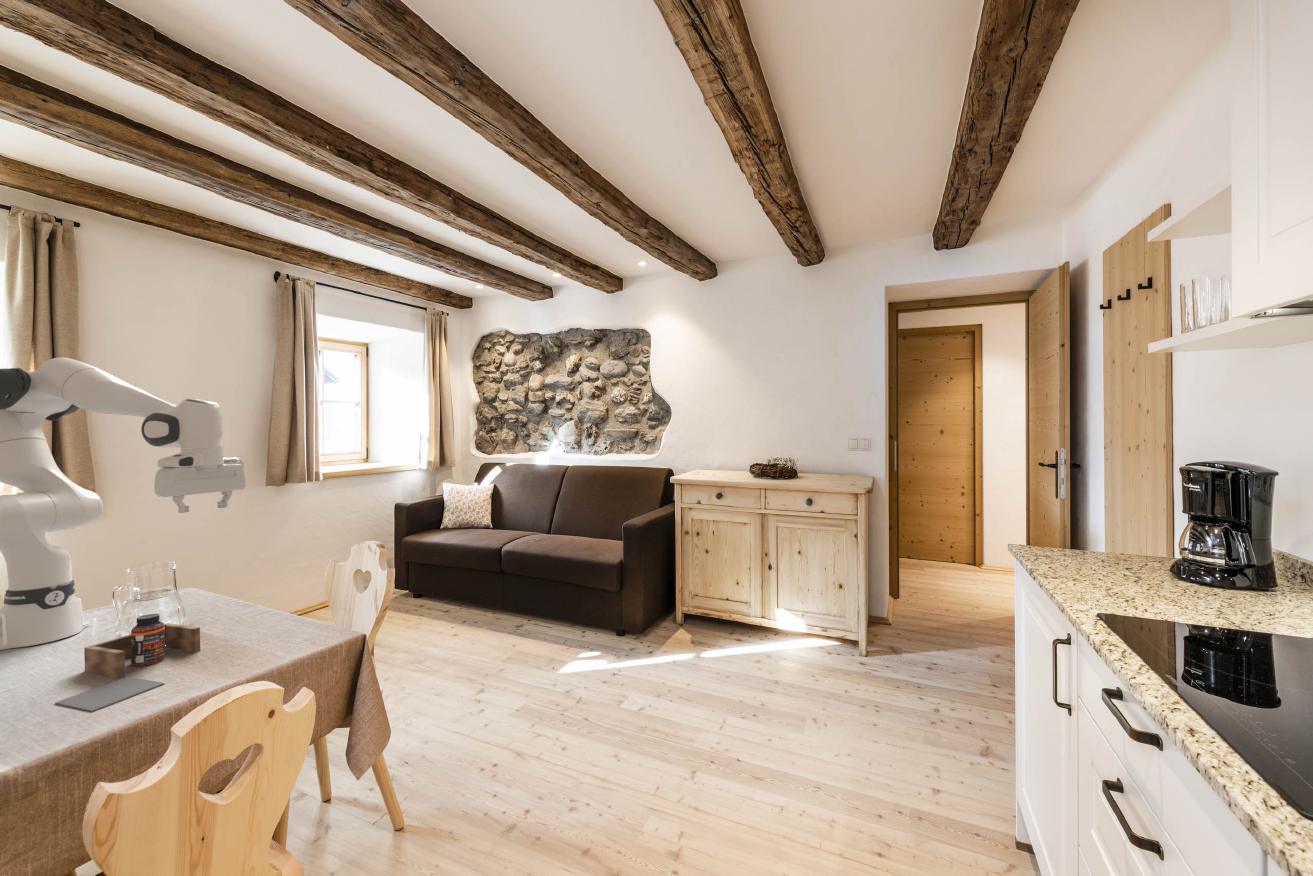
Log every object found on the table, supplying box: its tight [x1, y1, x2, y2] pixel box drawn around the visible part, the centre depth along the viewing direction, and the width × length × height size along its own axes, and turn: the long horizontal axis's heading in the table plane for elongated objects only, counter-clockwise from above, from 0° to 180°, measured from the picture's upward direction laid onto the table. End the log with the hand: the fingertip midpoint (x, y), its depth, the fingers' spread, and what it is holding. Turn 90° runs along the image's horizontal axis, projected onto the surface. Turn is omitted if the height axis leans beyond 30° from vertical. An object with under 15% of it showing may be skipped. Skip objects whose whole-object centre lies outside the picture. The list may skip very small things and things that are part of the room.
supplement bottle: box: [130, 613, 166, 667], centre depth 127 cm, size 6×6×11 cm
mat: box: [54, 676, 165, 713], centre depth 112 cm, size 12×12×1 cm
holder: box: [83, 622, 201, 680], centre depth 128 cm, size 12×16×6 cm
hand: (203, 510), depth 141 cm, fingers open, 8 cm apart
